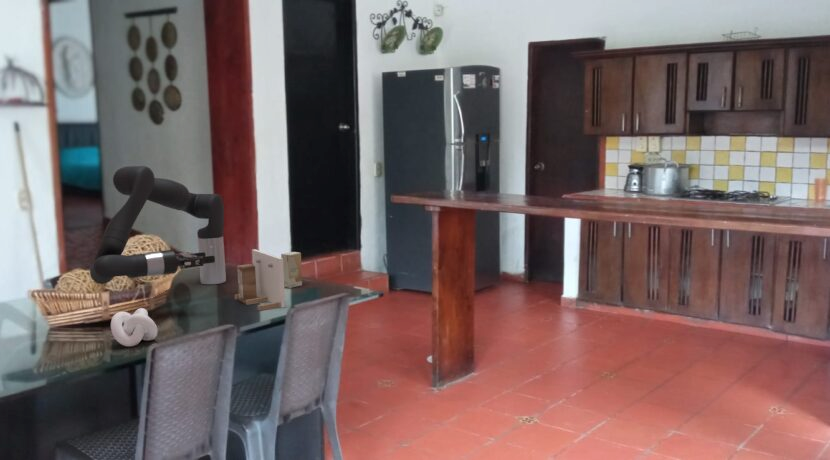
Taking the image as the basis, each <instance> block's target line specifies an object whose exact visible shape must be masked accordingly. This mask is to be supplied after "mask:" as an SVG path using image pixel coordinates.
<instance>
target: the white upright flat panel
mask: <svg viewBox="0 0 830 460" xmlns="http://www.w3.org/2000/svg"><path fill="white" fill-rule="evenodd" d="M251 255H252V256H251V257H252V265H253V266H255V273H256V291H257V298H255V299H249V300H246V303H245V305H247V306H250V305H255V304H257V311H258V312H260V311H266V310H271V309H278V308H286V296H285V295H286V293H285V287H284V271H283V258H281V257H279V256H276V255H274V254H271V253H269V252H268V253H267V252H264V251H261V250H259V249H255V248H254V249H251ZM234 300H236V301H237V300H239V293H237V294H234ZM267 302H269V303H267ZM262 303H265V304H262ZM259 304H260V305H259Z"/></svg>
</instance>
